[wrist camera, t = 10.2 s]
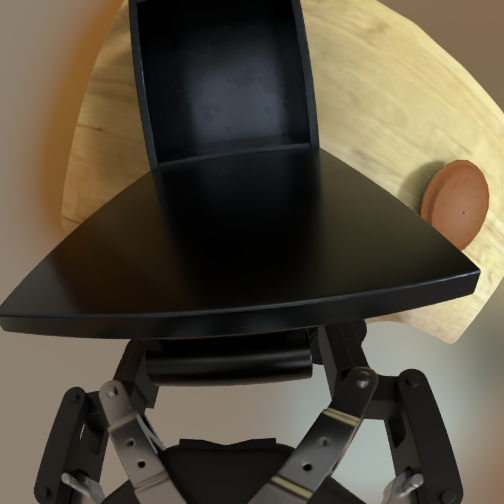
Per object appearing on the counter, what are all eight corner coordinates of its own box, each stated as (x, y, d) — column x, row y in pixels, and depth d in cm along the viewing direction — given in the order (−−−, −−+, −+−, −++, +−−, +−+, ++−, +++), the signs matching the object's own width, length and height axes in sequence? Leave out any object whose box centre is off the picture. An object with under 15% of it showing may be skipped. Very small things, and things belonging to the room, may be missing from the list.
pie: (393, 228, 39) (408, 242, 35) (431, 138, 32) (451, 143, 28) (452, 254, 41) (466, 268, 37) (486, 180, 35) (504, 189, 30)
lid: (-8, 313, 6) (68, 411, 9) (482, 269, 5) (426, 394, 8) (148, 171, 22) (162, 229, 25) (321, 147, 22) (324, 210, 24)
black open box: (166, 31, 26) (128, 0, 15) (279, 14, 25) (293, -29, 14) (183, 153, 34) (151, 174, 23) (296, 138, 33) (320, 151, 22)
